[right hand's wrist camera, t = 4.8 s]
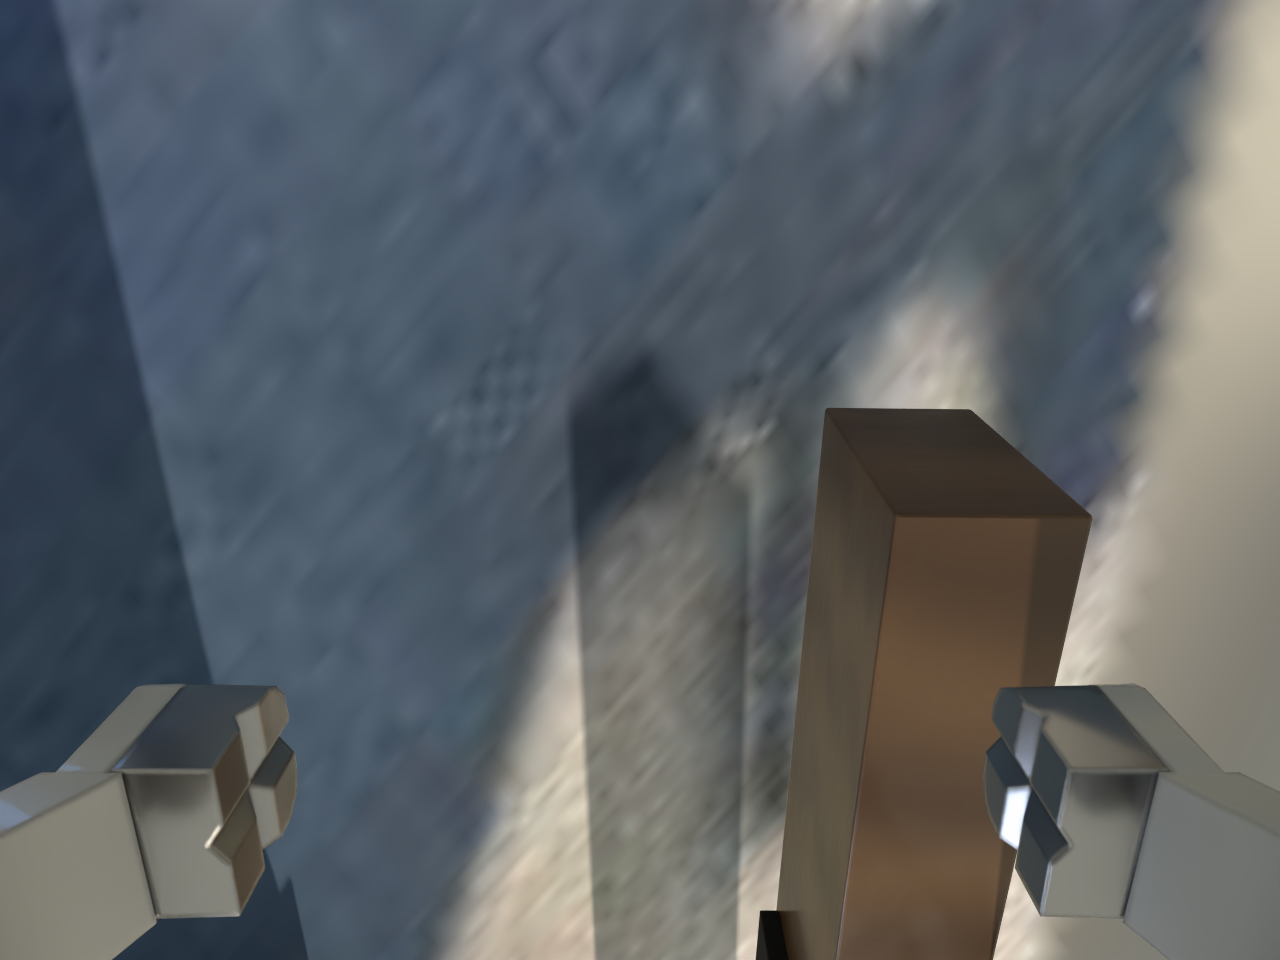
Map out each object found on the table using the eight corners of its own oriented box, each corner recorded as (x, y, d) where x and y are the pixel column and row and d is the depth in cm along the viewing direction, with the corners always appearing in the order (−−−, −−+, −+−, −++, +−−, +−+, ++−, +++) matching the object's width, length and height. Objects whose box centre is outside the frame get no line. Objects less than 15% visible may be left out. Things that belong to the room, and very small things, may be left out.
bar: (824, 406, 28) (896, 514, 20) (971, 408, 28) (1094, 516, 20) (769, 980, 37) (804, 1196, 30) (878, 980, 37) (940, 1195, 30)
